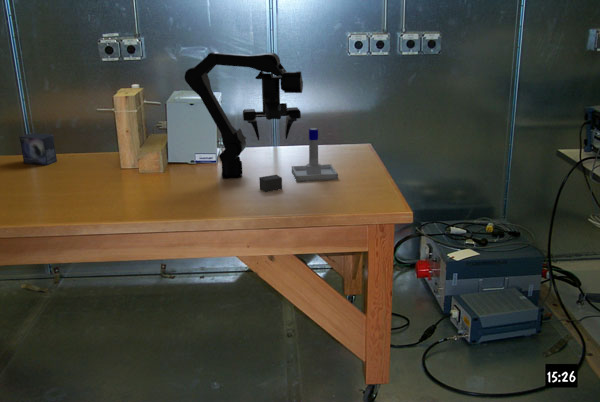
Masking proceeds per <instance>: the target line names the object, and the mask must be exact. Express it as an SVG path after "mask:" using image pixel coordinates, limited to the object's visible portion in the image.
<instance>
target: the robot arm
mask: <svg viewBox="0 0 600 402" xmlns="http://www.w3.org/2000/svg"><path fill="white" fill-rule="evenodd" d="M216 66H227V67H228V66H229V67H241V68H250V69H254V70H256V71H259V73H258V74H257V75H256V76H255V80H261V92H262V93H261V97H262V98H261V99H262V101H261V102H262V111H256V110H255V108H251V109H250V108H247V109H243V111H242V118H243V121H245V122H247V124H251V126H252V128H253V130H254V132H255V136H256V138H257V141H260V134H259V128H258V121H257V118H266V120H269V121H272V120H281V119H282V117H285V126H284V137H285V140H287V139H288V136H289V133H290V130H291V127H292V125H293V123H294V122H297V120H298V119H301V118H302V117H301V116H302V114H301V113H302V112H301V110H300V108H298V106H295V107H288V104H287V103H286V102H284V103H283V102H281V95H280V94H281V93H280V92H281V90H282V92H284V94H302V93H303V90H304V88H303V87H304V81H303V76H302V71H297V70H296V71H287V70H286V69H285V67H284V66H283V65H282V64H281V59H280V56H278V54H277V53H276V52H264V53H256V54H246V53H245V54H244V53H228V52H218V51H211V52H209V53H208V54H207V55H206V56H205V57H204V58H203V59H202V60H201V61H200V62H199V63H197V64H196V66H193V67H190V68H188V69H187V70H186V71H185V73H184V81H185V82H186V84H187V85H188V86H189V87H190V88H191V90H192V91H193V92H194V93H195V94H197V95H198V97H199V98H200V99H201V102H202V103H203V105H204V106H205V108H206V110H207V111H208V113H209V114H210V117H211V118H212V120H213V122H214V124H215V125H216V127H217V129H218V131H219V132H220V134H221V135H220V136H221V141H222V145H223V147H224V149H223V151H221V153H220V154H219V155H218V157H219V159H220V161H221V178H222V179H237V178H242V175H243V162H242V160H241V157H240V155H241V153H242V152H244V151H245V149H246V146H247V141H246V140H247V137H246V136H244V133H243V131H242V129H241V128H238V129H236V128H235V127H234V126H233V125H232V124H231V121H230V120H229V118H228V117H227V115H226V113H225V112H224V110H223V108H222V106H221V103H220V102H219V101H218V98H217V97H216V95H215V94H214V92H213V89H212V87H211V86H212V85H211V82H210V81H211V80H210V77H209V73H210V72H211V71H212V70H213V69H214V68H215V67H216Z"/></svg>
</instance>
